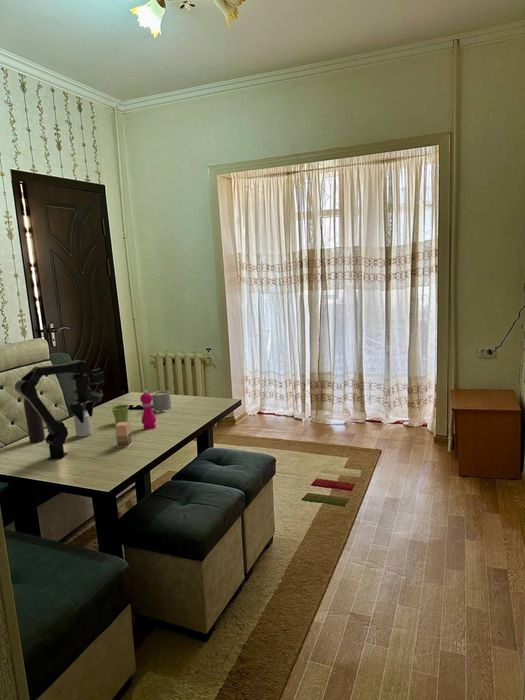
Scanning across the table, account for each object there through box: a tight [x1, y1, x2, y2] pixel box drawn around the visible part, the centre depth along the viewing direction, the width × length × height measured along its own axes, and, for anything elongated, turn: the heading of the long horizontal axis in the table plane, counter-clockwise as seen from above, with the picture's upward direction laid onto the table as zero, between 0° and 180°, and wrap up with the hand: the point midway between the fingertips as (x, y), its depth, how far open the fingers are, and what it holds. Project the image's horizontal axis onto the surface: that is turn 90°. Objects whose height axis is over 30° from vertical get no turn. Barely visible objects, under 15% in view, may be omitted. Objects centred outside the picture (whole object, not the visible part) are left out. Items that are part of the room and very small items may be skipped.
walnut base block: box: [116, 432, 133, 448], centre depth 227 cm, size 5×5×5 cm
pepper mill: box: [139, 390, 157, 431], centre depth 250 cm, size 7×7×20 cm
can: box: [73, 410, 93, 438], centre depth 247 cm, size 8×8×12 cm
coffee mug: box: [151, 390, 172, 411], centre depth 283 cm, size 13×10×10 cm
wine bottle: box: [23, 397, 46, 444], centre depth 243 cm, size 7×7×30 cm
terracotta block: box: [114, 421, 132, 436], centre depth 226 cm, size 5×5×5 cm
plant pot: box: [110, 404, 130, 424], centre depth 264 cm, size 9×9×9 cm
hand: (86, 419), depth 229 cm, fingers open, 9 cm apart
